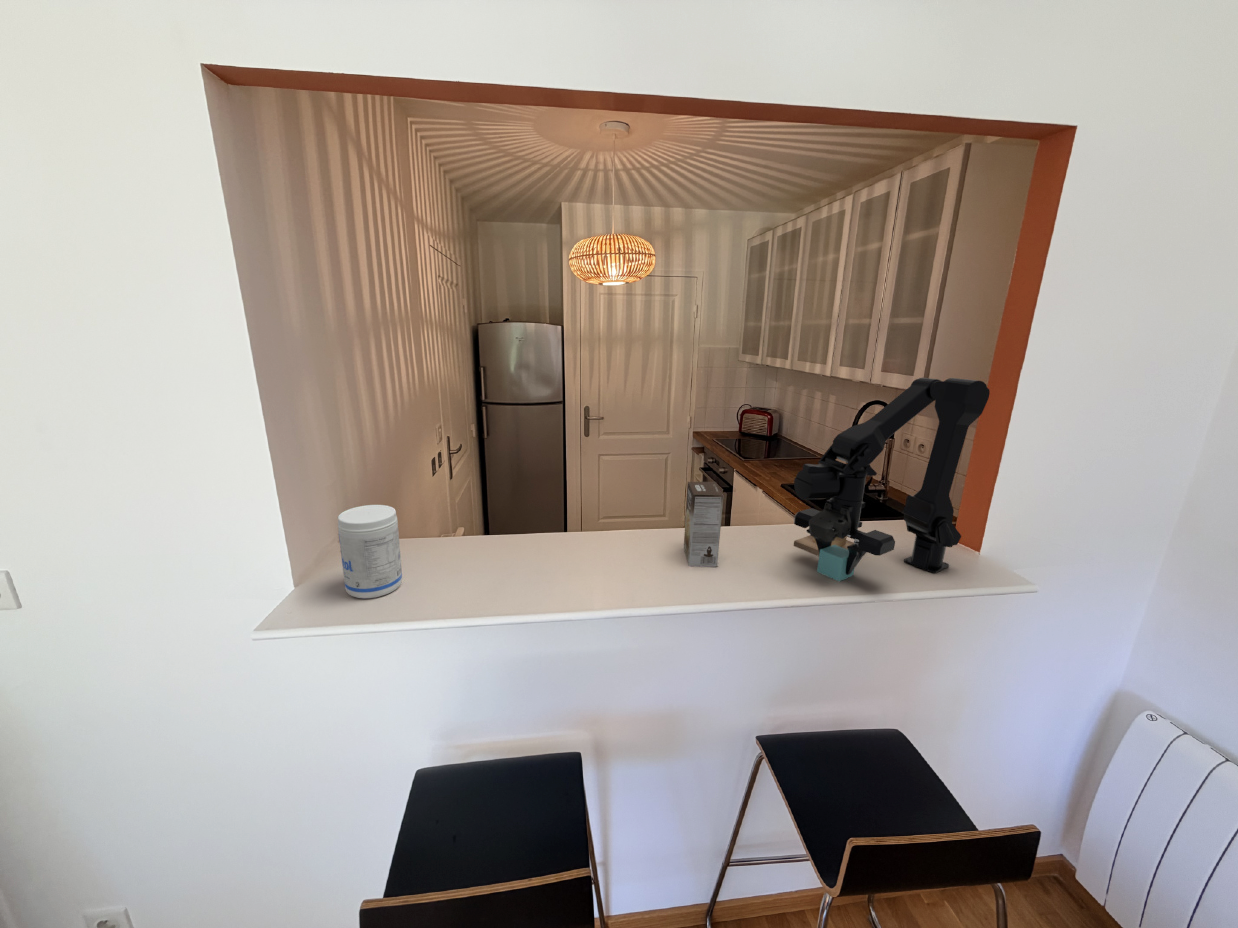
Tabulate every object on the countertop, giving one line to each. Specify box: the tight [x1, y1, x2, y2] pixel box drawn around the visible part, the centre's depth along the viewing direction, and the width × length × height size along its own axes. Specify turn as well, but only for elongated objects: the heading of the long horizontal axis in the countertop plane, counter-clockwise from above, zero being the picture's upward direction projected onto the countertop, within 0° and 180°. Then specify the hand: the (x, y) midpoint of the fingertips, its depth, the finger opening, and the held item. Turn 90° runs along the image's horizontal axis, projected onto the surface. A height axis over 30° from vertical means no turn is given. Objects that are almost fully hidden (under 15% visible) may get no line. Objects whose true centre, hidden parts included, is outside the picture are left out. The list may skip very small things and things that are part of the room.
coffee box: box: [683, 481, 724, 568], centre depth 104 cm, size 9×6×16 cm
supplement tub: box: [337, 504, 403, 599], centre depth 89 cm, size 10×10×15 cm
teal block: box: [816, 545, 855, 582], centre depth 100 cm, size 5×5×5 cm
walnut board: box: [793, 534, 854, 557], centre depth 113 cm, size 11×11×2 cm
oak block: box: [813, 536, 848, 547], centre depth 112 cm, size 5×5×5 cm
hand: (835, 568), depth 101 cm, fingers open, 5 cm apart
